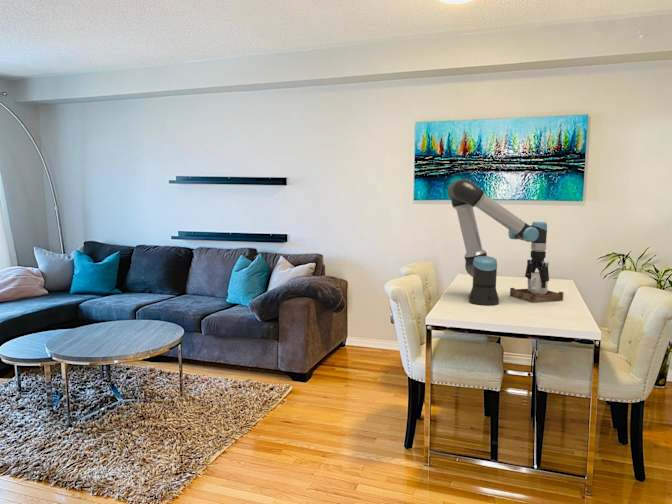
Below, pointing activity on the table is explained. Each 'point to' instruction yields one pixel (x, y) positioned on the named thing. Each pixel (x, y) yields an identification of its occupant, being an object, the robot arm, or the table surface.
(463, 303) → the table surface
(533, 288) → the mug
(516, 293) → the wooden tray
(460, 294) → the table surface
